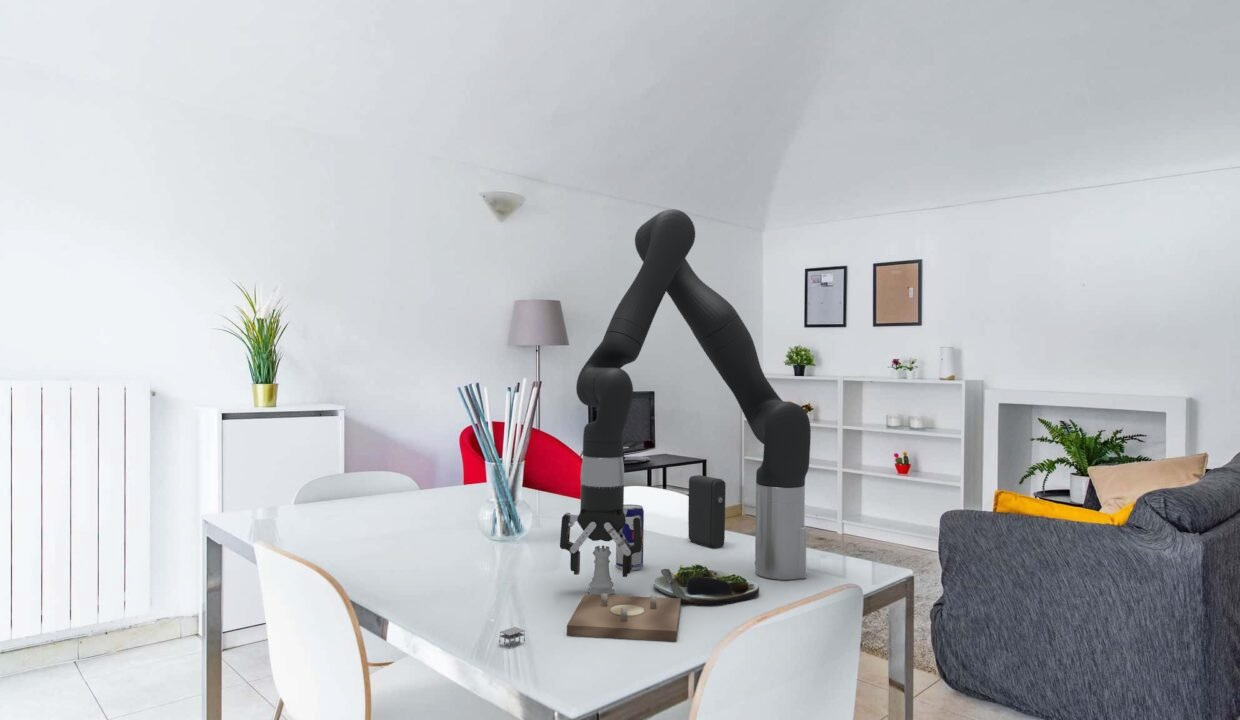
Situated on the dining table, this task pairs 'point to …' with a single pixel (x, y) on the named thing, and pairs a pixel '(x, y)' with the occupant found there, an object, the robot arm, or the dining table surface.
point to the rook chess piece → (601, 572)
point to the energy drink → (631, 538)
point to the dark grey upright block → (706, 511)
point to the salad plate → (705, 586)
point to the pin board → (626, 617)
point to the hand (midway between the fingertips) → (600, 574)
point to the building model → (512, 634)
